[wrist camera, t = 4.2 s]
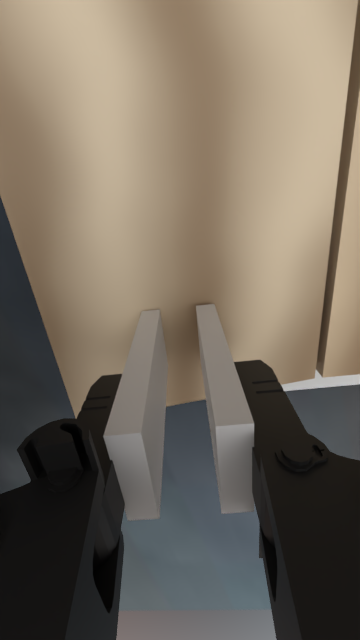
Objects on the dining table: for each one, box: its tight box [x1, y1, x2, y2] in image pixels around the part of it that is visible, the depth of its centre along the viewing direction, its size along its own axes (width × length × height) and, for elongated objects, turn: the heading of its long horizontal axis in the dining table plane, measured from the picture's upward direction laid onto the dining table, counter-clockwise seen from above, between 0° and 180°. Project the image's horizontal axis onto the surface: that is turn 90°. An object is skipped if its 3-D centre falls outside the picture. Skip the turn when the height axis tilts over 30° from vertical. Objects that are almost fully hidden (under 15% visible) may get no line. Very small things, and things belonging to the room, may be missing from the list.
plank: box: [0, 0, 358, 418], centre depth 11 cm, size 12×16×2 cm
